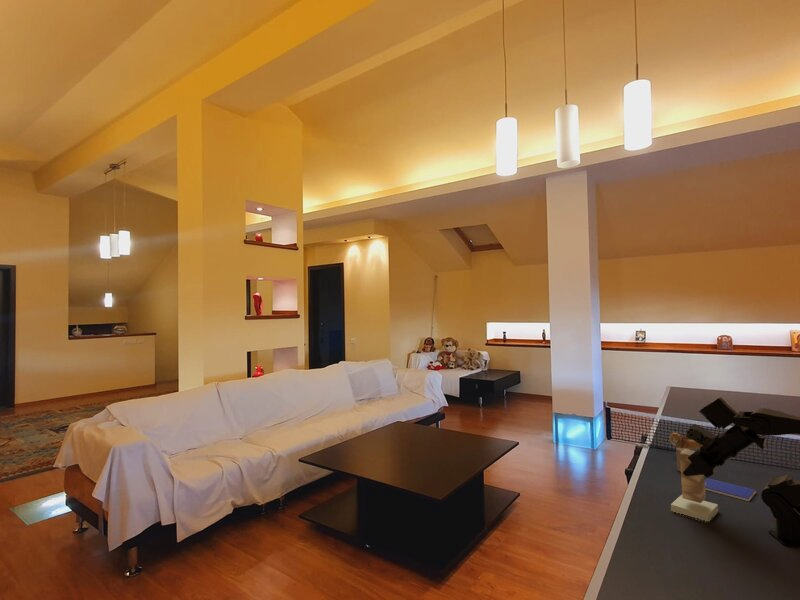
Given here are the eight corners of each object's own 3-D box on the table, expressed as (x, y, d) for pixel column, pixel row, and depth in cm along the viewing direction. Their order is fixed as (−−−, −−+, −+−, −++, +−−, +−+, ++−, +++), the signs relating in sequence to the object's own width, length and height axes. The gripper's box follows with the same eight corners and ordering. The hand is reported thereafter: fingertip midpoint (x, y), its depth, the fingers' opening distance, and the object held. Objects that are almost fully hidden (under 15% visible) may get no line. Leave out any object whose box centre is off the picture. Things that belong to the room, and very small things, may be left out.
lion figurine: (672, 458, 161) (671, 434, 161) (668, 453, 166) (667, 430, 166) (718, 460, 157) (716, 436, 157) (712, 455, 162) (711, 432, 162)
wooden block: (688, 469, 150) (687, 447, 150) (695, 474, 146) (694, 451, 146) (676, 470, 150) (675, 447, 150) (683, 474, 146) (681, 451, 146)
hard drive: (699, 485, 136) (748, 497, 126) (707, 477, 141) (755, 489, 131) (700, 490, 136) (749, 503, 126) (708, 482, 141) (755, 494, 131)
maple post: (705, 497, 121) (703, 452, 121) (700, 503, 118) (698, 456, 118) (687, 493, 125) (684, 449, 125) (682, 498, 122) (679, 453, 122)
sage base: (718, 513, 121) (717, 504, 121) (708, 524, 115) (707, 515, 115) (682, 502, 128) (681, 494, 128) (671, 513, 122) (670, 504, 122)
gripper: (715, 411, 125) (674, 440, 133) (695, 424, 113) (652, 456, 121) (750, 443, 119) (706, 472, 127) (733, 461, 107) (685, 492, 115)
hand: (687, 471), depth 123 cm, fingers closed on maple post, 4 cm apart
